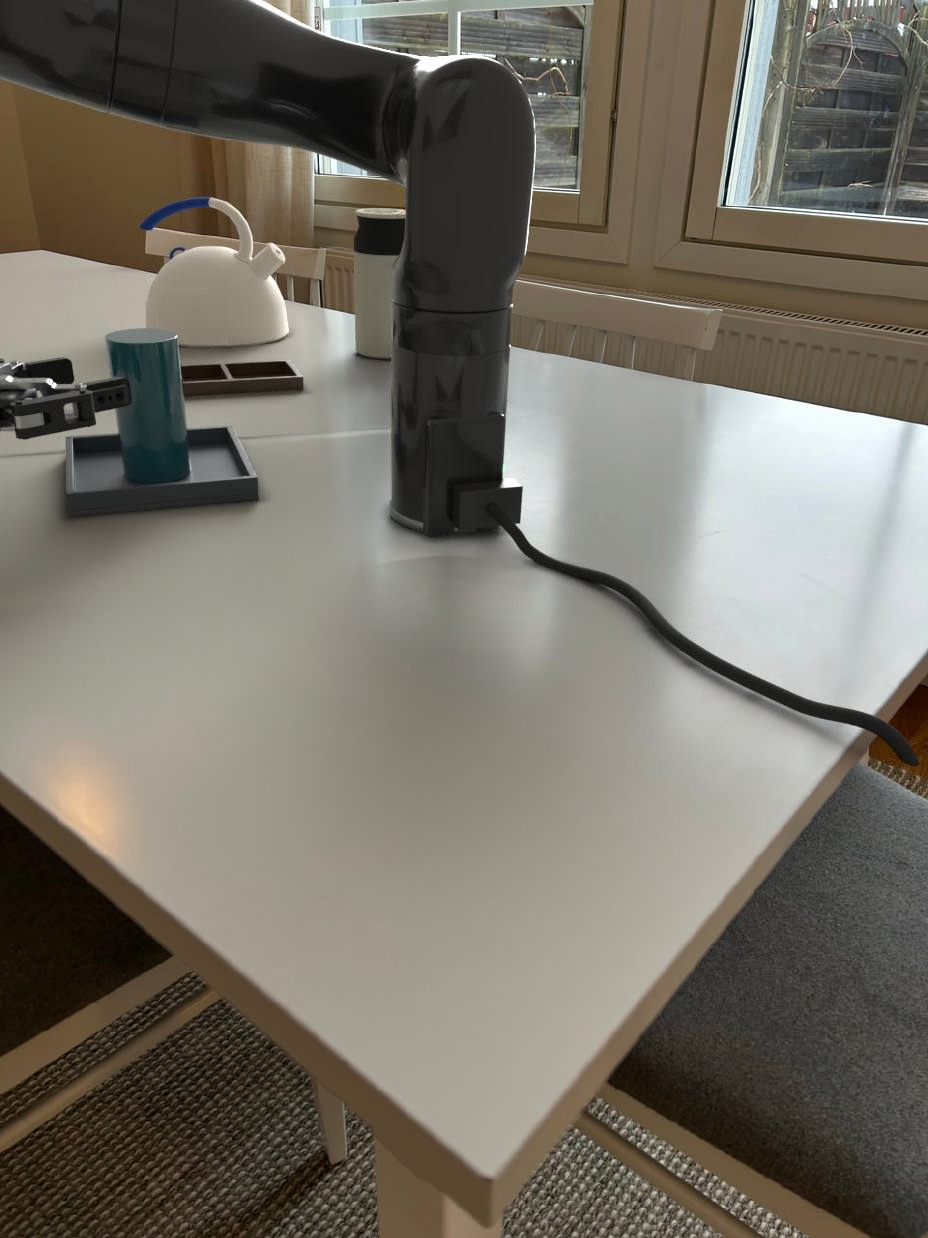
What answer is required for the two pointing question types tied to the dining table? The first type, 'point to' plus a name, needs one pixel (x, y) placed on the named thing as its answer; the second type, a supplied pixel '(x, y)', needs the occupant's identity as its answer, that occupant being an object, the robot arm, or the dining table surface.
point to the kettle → (217, 288)
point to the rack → (240, 378)
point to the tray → (107, 490)
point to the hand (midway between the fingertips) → (98, 379)
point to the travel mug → (375, 277)
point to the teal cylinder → (150, 405)
